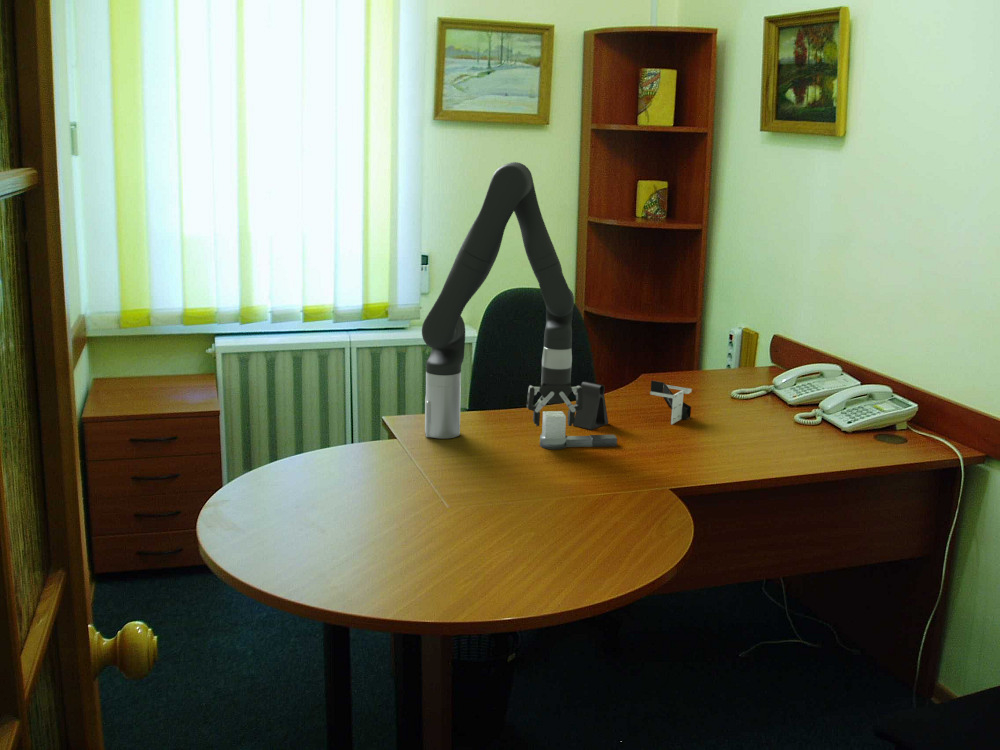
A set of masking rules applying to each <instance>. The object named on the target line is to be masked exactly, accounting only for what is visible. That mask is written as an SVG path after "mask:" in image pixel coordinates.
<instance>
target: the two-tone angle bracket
mask: <svg viewBox="0 0 1000 750" xmlns="http://www.w3.org/2000/svg"><path fill="white" fill-rule="evenodd" d="M650 381H651V383H650V391H649V395H652V396H657V397H662V398H663V399H664V401H665V402H666V404H667V406H668V408H669V409H671V418H670V425H674V424H675V423H678V421H679V422H680V421H681V420H684V421H685V420H689V419H691V418H692V417H691V411H692V410H691V409H692V406H691V405H689V404H687V403H686V402H684V394H685V395H689V394H690V393H692V390H693V389H692V388H689V387H682V386H676V385H669V384H666V383H665V382H663V381H657V380H652V379H650ZM671 390H677V391H678V392H676V393H673V391H671Z"/></svg>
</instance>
